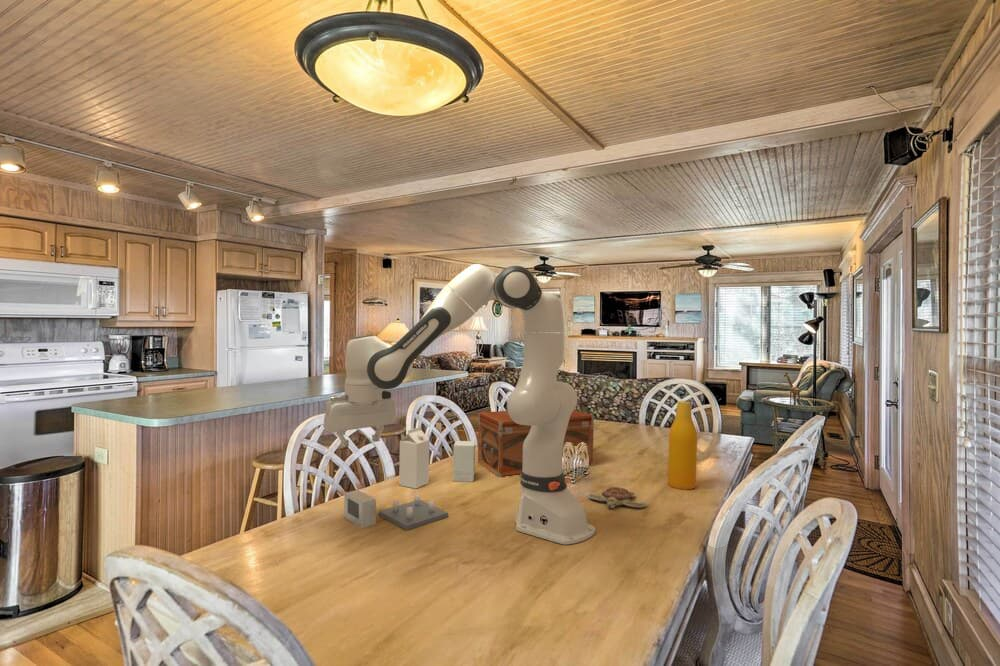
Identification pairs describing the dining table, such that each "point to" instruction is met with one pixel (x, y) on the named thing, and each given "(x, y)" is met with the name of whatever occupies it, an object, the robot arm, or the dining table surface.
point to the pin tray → (413, 513)
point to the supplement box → (464, 461)
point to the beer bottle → (682, 449)
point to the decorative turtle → (617, 497)
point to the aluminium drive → (360, 508)
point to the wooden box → (521, 440)
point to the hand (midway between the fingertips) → (360, 443)
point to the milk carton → (414, 459)
